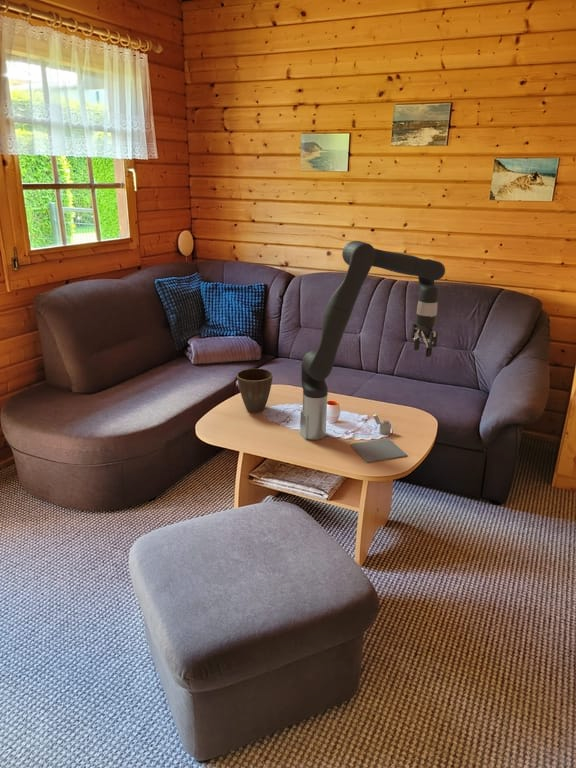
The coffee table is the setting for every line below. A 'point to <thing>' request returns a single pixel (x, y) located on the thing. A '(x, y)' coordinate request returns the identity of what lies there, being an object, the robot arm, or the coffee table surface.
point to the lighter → (383, 425)
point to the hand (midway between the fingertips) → (422, 353)
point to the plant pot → (255, 388)
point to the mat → (378, 450)
